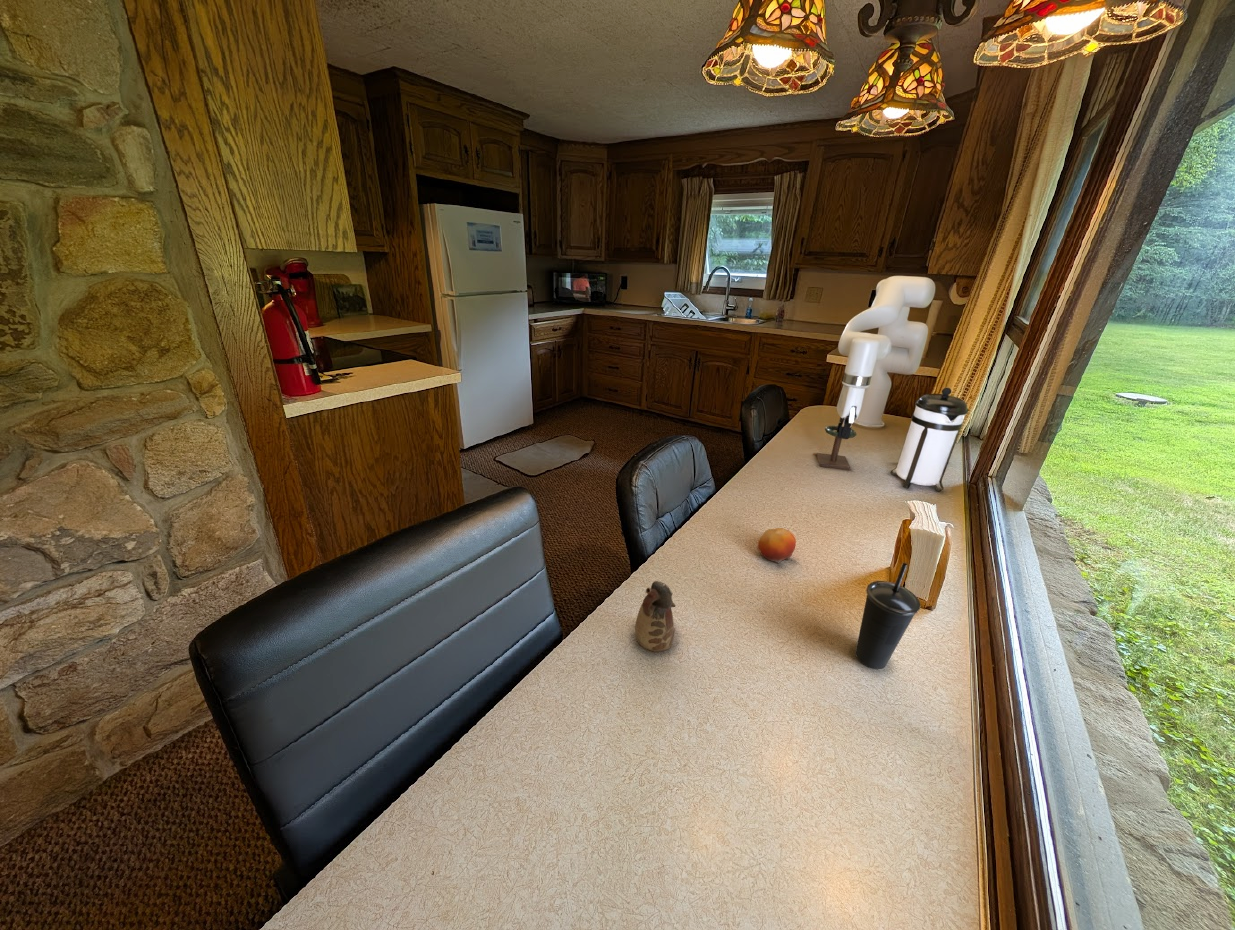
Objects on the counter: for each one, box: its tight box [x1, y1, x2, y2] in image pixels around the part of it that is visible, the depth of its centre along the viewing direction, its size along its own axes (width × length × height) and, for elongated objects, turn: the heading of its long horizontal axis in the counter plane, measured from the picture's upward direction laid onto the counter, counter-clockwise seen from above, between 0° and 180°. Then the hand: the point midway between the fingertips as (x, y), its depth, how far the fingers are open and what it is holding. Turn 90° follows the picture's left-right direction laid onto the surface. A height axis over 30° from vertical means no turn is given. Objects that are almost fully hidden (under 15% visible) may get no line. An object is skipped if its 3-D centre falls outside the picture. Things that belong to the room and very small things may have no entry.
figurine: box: [634, 580, 677, 653], centre depth 80 cm, size 7×7×12 cm
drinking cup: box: [855, 562, 921, 670], centre depth 75 cm, size 8×8×20 cm
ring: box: [824, 425, 857, 439], centre depth 149 cm, size 9×9×2 cm
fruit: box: [757, 527, 797, 564], centre depth 104 cm, size 8×8×8 cm
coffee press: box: [889, 387, 970, 493], centre depth 137 cm, size 17×16×30 cm
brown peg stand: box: [816, 436, 851, 471], centre depth 151 cm, size 9×9×12 cm
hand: (842, 436), depth 146 cm, fingers closed
